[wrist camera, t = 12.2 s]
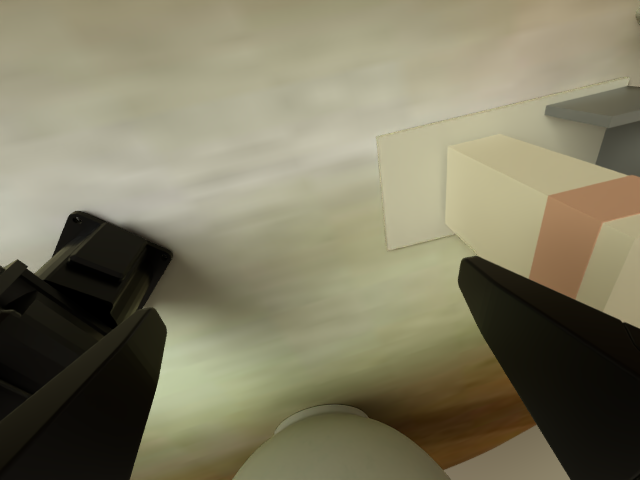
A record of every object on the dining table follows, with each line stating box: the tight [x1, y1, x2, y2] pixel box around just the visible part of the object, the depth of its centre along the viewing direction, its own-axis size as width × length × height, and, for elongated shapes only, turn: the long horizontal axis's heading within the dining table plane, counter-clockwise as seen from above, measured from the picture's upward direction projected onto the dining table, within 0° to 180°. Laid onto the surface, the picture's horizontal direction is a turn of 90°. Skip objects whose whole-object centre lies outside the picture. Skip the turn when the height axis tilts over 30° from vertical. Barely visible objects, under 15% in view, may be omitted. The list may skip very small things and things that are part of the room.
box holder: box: [376, 77, 640, 251], centre depth 20 cm, size 17×9×5 cm, turn 101°
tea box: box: [445, 134, 640, 328], centre depth 16 cm, size 4×6×12 cm, turn 11°
